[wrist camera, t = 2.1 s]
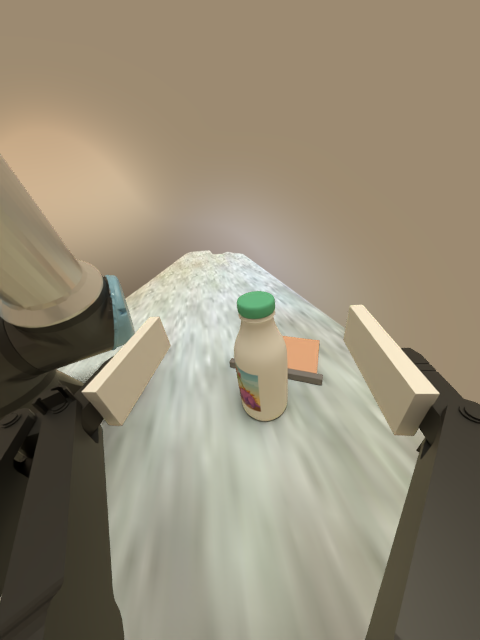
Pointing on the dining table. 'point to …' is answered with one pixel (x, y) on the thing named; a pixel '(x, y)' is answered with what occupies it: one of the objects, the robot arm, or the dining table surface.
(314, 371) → the tile
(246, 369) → the milk bottle
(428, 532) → the robot arm
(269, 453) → the dining table surface
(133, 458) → the dining table surface
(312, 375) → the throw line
